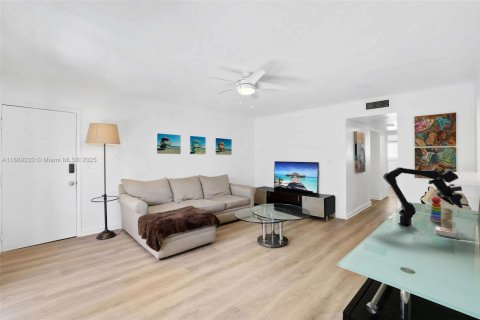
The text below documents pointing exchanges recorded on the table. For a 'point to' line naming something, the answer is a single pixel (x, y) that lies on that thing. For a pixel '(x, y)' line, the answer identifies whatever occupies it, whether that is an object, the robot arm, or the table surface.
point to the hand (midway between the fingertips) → (457, 206)
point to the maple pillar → (446, 218)
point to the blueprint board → (447, 232)
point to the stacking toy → (436, 210)
